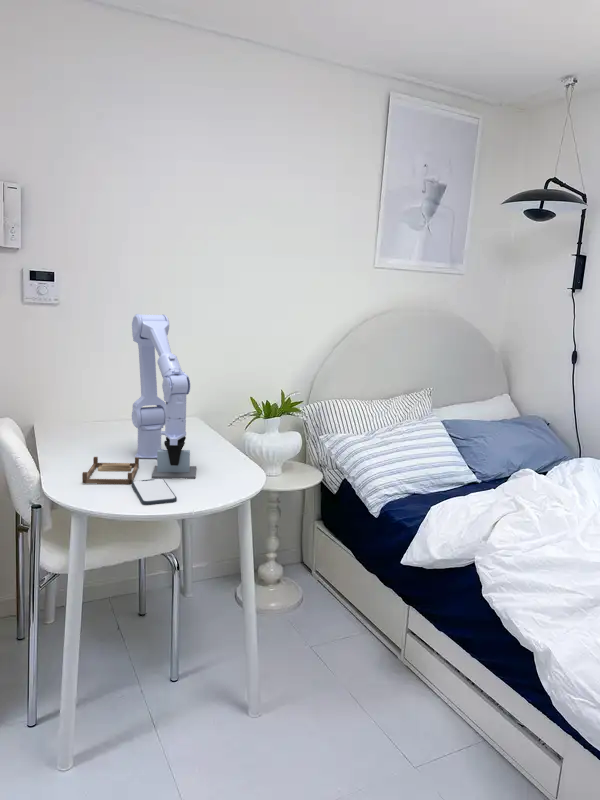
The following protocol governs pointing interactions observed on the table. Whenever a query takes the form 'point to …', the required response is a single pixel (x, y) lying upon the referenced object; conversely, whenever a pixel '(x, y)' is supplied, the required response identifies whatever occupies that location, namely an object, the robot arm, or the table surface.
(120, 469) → the offcut stack
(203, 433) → the table surface
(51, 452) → the table surface
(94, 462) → the frame
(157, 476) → the mat
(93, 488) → the table surface
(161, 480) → the phone case
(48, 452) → the table surface
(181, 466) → the panel
